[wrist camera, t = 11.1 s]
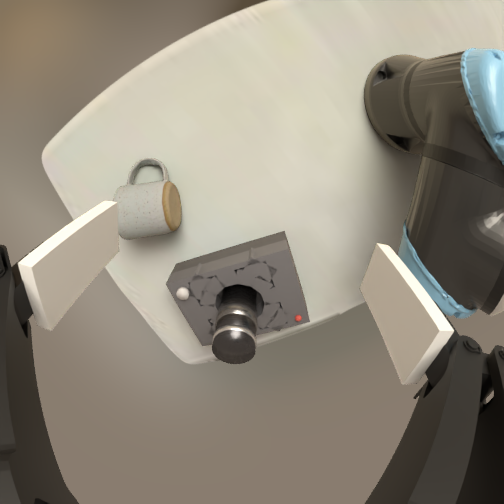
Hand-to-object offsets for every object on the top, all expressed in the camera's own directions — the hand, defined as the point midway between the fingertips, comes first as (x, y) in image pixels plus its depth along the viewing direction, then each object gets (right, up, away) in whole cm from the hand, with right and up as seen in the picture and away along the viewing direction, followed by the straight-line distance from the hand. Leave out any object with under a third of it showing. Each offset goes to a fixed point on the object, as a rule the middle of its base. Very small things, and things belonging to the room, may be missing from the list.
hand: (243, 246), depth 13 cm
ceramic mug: (-14, +9, +26) cm, 31 cm away
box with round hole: (-1, -5, +32) cm, 33 cm away
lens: (-1, -6, +29) cm, 30 cm away
